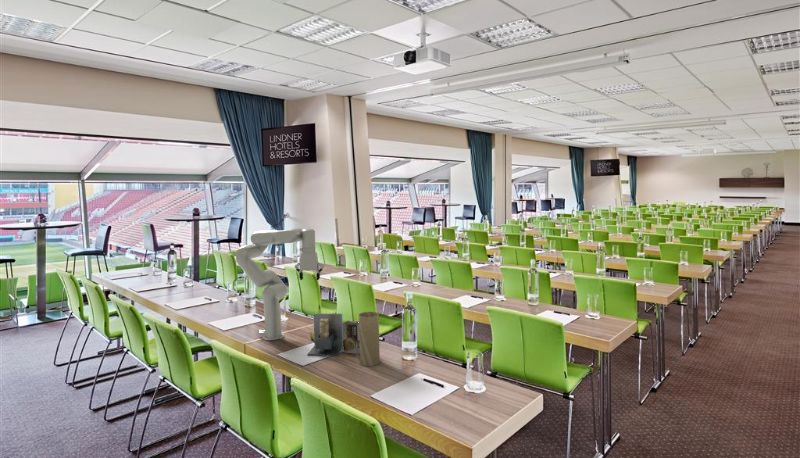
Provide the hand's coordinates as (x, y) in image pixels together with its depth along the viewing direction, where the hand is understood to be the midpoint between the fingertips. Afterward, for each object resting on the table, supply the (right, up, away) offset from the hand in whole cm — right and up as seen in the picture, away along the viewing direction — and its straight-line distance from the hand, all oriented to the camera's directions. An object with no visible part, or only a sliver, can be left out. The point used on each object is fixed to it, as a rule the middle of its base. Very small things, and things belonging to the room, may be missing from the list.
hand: (309, 279), depth 277 cm
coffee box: (+27, -38, -17) cm, 49 cm away
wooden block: (+11, -34, -17) cm, 40 cm away
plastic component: (+10, -36, +7) cm, 38 cm away
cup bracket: (+12, -37, -15) cm, 42 cm away
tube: (+37, -39, -34) cm, 63 cm away
